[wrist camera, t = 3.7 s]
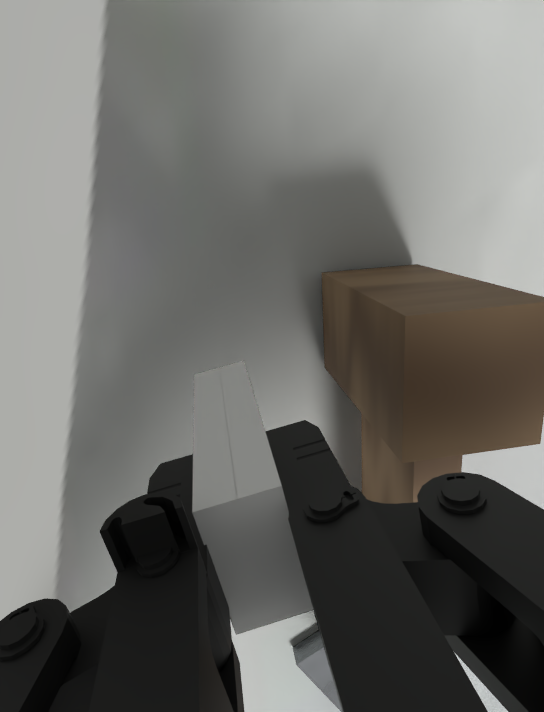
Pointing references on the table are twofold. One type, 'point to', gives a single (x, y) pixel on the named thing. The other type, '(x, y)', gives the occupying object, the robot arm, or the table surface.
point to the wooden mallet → (432, 370)
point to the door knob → (316, 665)
